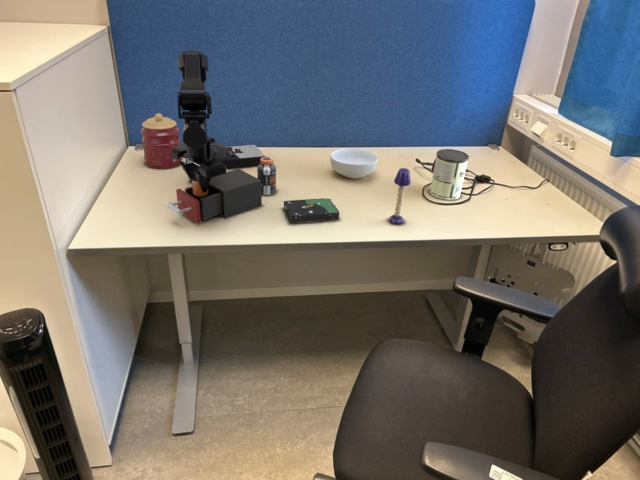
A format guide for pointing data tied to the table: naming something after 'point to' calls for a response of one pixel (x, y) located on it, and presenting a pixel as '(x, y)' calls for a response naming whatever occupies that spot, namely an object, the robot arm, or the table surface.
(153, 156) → the kitchen canister
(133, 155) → the table surface
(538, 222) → the table surface
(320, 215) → the disk drive
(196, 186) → the brown short cylinder
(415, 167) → the table surface
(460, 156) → the coffee can
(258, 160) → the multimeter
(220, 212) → the pod drawer
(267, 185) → the pill bottle
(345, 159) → the cereal bowl
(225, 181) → the drawer cabinet
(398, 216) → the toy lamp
